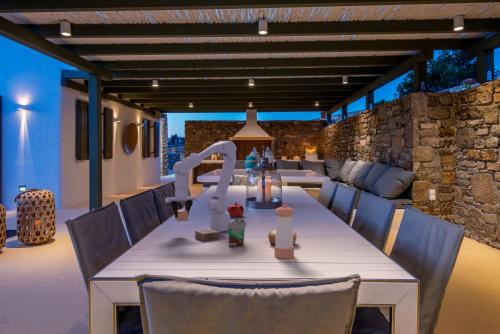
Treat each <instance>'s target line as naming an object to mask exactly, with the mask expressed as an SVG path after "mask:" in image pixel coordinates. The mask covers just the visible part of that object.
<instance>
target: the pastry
mask: <svg viewBox="0 0 500 334" xmlns="http://www.w3.org/2000/svg"><path fill="white" fill-rule="evenodd" d="M276 231H277V229H274V230H270V231H268V233H267V234H268V235H267V237H268V241H269V243H270V245H273V246H274V247H275V246H276V243H275V237H276ZM292 232H293V246H294V245H295V244H296V242H297V233H296V232H295V231H293V230H292Z"/></svg>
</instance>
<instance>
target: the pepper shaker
mask: <svg viewBox="0 0 500 334" xmlns="http://www.w3.org/2000/svg"><path fill="white" fill-rule="evenodd" d="M294 211H295V210H294V209H293V208H292V207H289V206H287V205H286V204H283V205H282V206H280V207H277V208H276V209H275V210H274V214H275V215H276V218H277V219H276V230H277V231H276V237H275V243H276V246H275V245H274V250H273V251H274V253H273V254H274V257H275V258H277V259H282V258H283V259H284V260H285V258H286V259H287V258H288V259H292V257H293V258H294V257H295V246H294V245H293V232H294V231H293V228H292V227H293V216H294V214H295V212H294ZM292 231H293V232H292ZM283 259H282V260H283Z"/></svg>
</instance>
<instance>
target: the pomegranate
mask: <svg viewBox="0 0 500 334" xmlns="http://www.w3.org/2000/svg"><path fill="white" fill-rule="evenodd" d="M234 202H235V203H233V202H231V203H230V205H229V206H228V207H227V210H226V212H228V213H229V214H230V218H241V217H242V216H243V215H244V214H245V208H244V206H243V205H242V204H241V203H239V202H238V200H235V201H234Z"/></svg>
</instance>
